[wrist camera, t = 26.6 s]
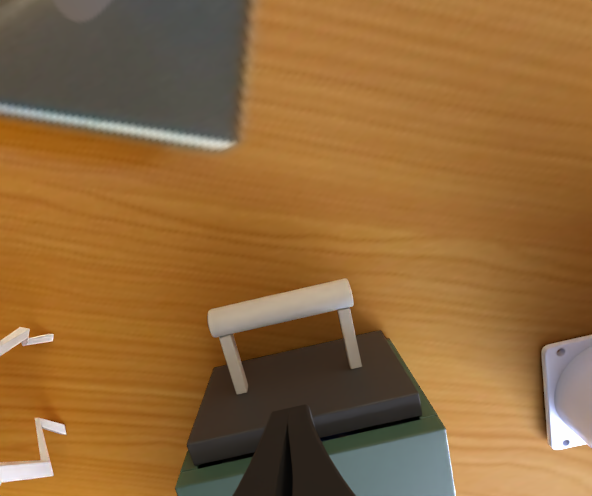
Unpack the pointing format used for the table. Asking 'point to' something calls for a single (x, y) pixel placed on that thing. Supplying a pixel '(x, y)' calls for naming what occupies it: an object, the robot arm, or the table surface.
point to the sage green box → (358, 460)
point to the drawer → (298, 377)
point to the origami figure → (37, 467)
